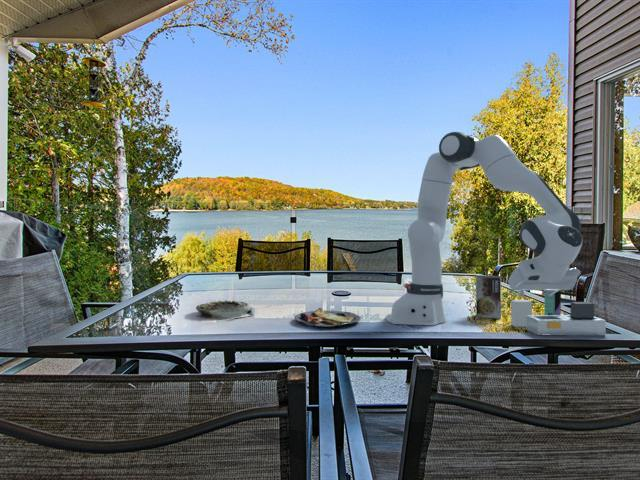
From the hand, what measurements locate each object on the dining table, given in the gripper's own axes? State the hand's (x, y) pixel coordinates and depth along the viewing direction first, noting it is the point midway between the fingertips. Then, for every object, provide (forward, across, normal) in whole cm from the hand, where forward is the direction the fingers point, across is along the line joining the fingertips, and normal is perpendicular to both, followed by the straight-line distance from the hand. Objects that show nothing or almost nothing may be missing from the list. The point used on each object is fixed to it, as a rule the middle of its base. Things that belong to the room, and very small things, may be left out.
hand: (534, 294), depth 143 cm
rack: (+8, -10, +10) cm, 16 cm away
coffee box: (+26, +6, -8) cm, 28 cm away
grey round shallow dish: (+32, +114, -12) cm, 119 cm away
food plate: (+21, +70, -2) cm, 73 cm away
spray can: (+22, -16, -4) cm, 27 cm away
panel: (+15, 0, +2) cm, 16 cm away
